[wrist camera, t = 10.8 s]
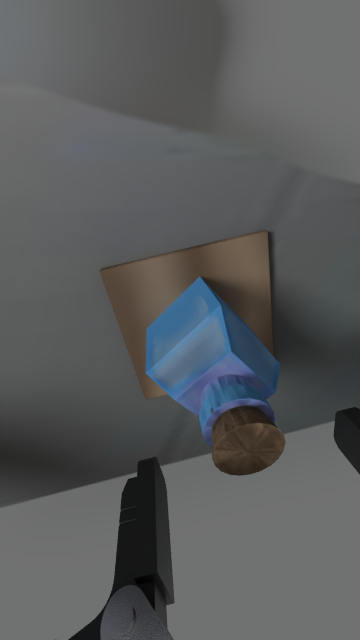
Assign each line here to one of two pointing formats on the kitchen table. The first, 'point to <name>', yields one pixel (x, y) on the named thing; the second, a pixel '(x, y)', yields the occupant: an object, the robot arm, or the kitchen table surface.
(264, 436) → the perfume bottle
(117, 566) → the robot arm
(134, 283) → the walnut board
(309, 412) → the kitchen table surface
